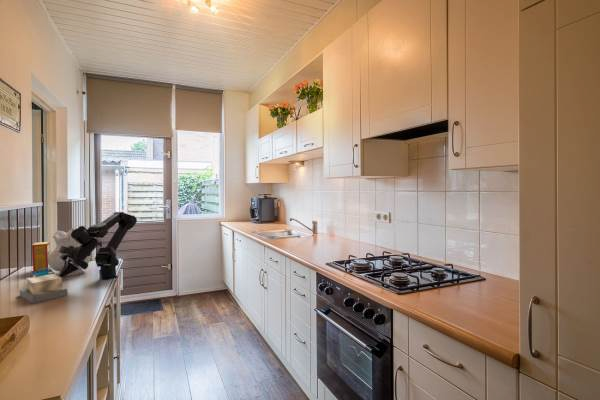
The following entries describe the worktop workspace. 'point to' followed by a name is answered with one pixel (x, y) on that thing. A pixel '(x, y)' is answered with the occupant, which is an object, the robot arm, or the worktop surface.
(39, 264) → the baking soda box
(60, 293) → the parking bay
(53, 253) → the ceramic pitcher
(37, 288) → the oak block
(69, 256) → the robot arm
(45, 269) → the gear
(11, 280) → the worktop surface
